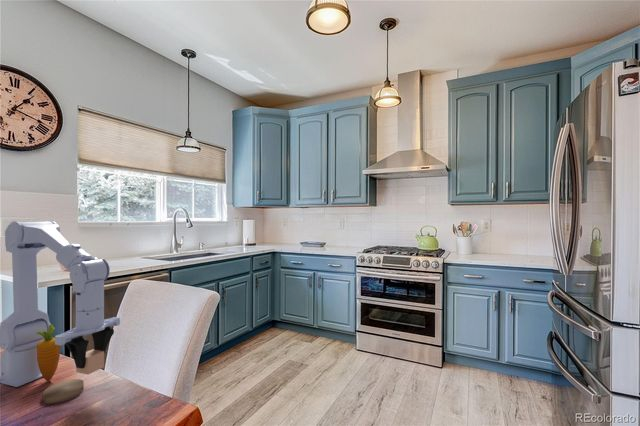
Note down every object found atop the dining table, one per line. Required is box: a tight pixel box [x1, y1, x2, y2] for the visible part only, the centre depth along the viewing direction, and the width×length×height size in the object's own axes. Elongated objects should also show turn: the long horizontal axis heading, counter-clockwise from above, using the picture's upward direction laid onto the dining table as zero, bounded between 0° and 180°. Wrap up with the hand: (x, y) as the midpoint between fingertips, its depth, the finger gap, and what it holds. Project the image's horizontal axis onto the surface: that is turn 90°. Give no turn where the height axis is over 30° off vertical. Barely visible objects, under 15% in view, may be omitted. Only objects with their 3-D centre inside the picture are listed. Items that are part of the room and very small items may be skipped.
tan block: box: [75, 348, 105, 375], centre depth 78 cm, size 4×4×4 cm
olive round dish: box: [42, 378, 85, 404], centre depth 80 cm, size 8×8×2 cm
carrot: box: [37, 324, 61, 382], centre depth 87 cm, size 5×5×15 cm
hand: (90, 363), depth 78 cm, fingers closed on tan block, 4 cm apart
